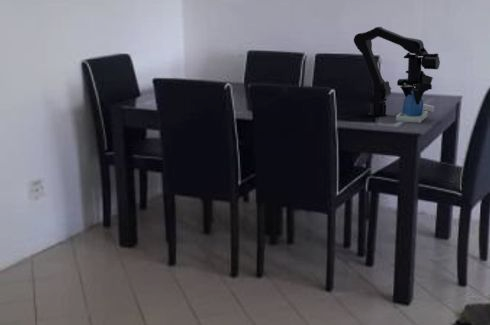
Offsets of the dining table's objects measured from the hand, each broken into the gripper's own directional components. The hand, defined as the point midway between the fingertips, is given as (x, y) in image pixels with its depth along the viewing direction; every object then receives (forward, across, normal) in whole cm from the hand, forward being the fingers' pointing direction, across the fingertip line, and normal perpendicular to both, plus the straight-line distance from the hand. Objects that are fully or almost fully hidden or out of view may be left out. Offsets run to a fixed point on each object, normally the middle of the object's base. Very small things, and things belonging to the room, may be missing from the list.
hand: (413, 103), depth 292 cm
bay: (+7, +13, -13) cm, 20 cm away
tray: (+7, 0, 0) cm, 7 cm away
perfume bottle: (+5, 0, 0) cm, 5 cm away
